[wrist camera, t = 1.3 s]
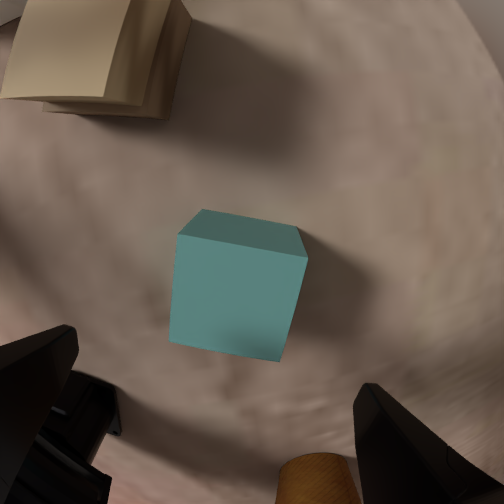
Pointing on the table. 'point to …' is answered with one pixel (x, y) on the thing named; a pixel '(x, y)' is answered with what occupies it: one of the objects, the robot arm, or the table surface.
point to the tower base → (159, 78)
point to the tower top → (84, 51)
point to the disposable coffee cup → (316, 481)
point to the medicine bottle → (11, 10)
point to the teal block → (236, 284)
